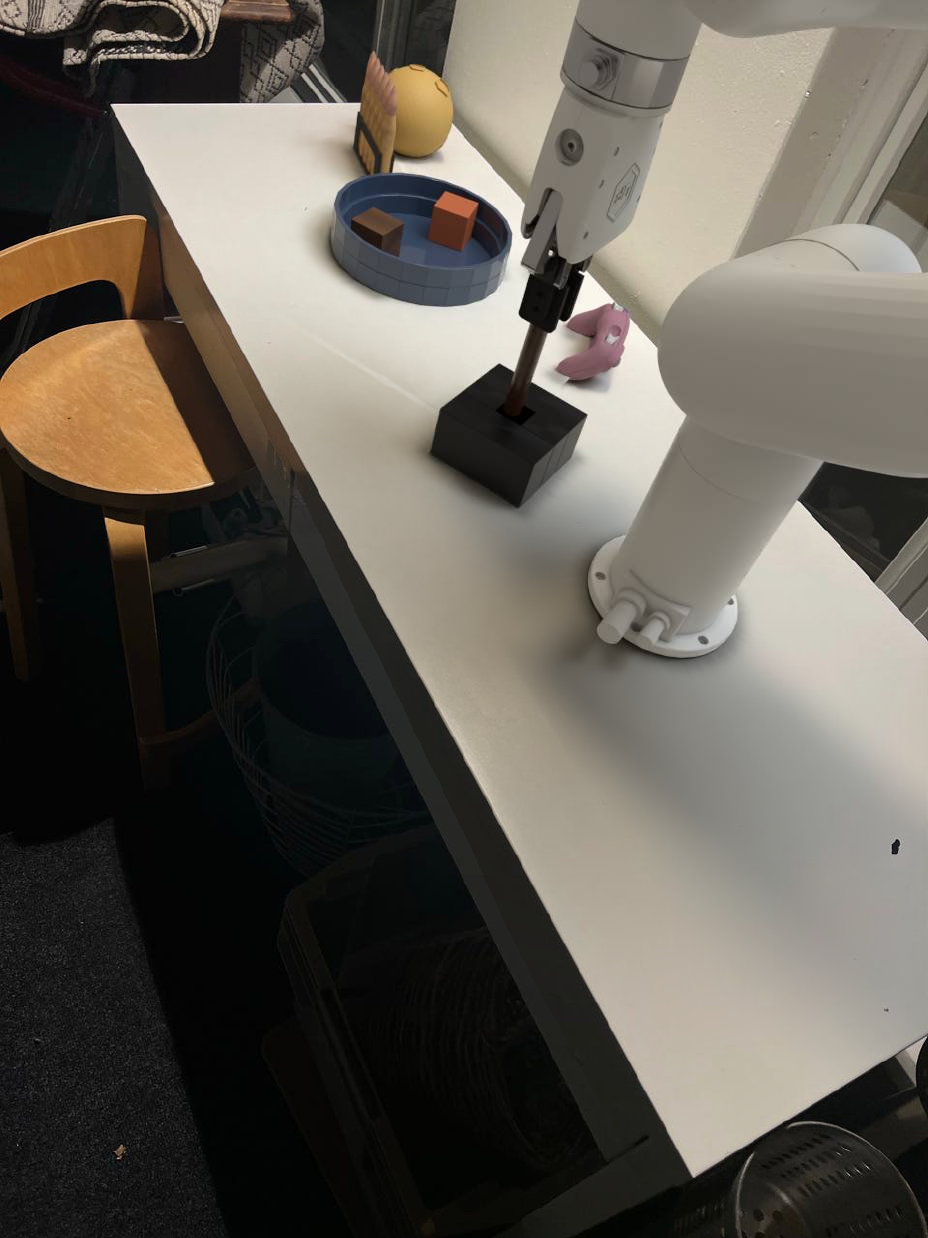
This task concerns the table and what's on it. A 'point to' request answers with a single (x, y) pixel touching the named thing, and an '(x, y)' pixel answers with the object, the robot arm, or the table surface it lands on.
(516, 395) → the stirring stick
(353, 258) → the bowl
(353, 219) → the walnut block
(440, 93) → the stress ball
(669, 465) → the robot arm
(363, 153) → the ammunition clip
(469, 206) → the terracotta block
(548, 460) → the stick stand
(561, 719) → the table surface
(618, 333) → the video game controller
